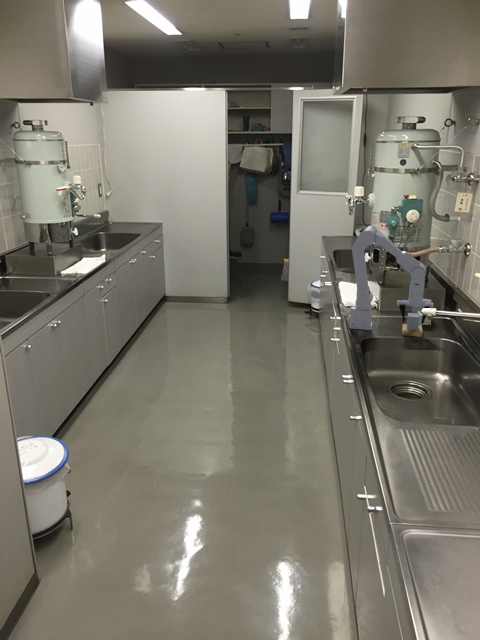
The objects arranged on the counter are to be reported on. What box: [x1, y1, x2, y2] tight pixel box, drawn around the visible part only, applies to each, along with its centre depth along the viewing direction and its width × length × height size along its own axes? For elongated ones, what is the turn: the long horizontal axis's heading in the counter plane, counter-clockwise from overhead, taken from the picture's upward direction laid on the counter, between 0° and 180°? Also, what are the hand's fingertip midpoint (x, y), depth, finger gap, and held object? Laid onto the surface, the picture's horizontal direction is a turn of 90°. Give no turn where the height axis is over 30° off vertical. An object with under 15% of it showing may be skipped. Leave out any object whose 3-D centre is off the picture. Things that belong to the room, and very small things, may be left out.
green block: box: [417, 311, 432, 325], centre depth 233 cm, size 5×6×5 cm
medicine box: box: [410, 298, 432, 314], centre depth 239 cm, size 8×4×9 cm, turn 65°
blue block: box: [406, 312, 419, 331], centre depth 223 cm, size 4×4×6 cm
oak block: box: [401, 323, 423, 338], centre depth 224 cm, size 8×8×2 cm
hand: (412, 322), depth 223 cm, fingers open, 7 cm apart
